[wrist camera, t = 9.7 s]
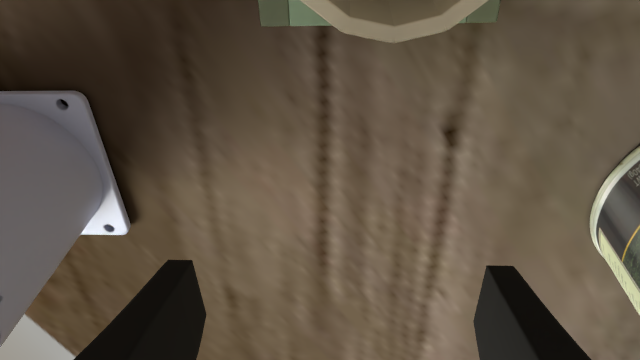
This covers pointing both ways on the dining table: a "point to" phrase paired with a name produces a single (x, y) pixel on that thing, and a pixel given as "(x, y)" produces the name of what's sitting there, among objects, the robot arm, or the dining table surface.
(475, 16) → the frame
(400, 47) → the dining table surface
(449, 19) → the cream tumbler
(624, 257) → the coffee can
